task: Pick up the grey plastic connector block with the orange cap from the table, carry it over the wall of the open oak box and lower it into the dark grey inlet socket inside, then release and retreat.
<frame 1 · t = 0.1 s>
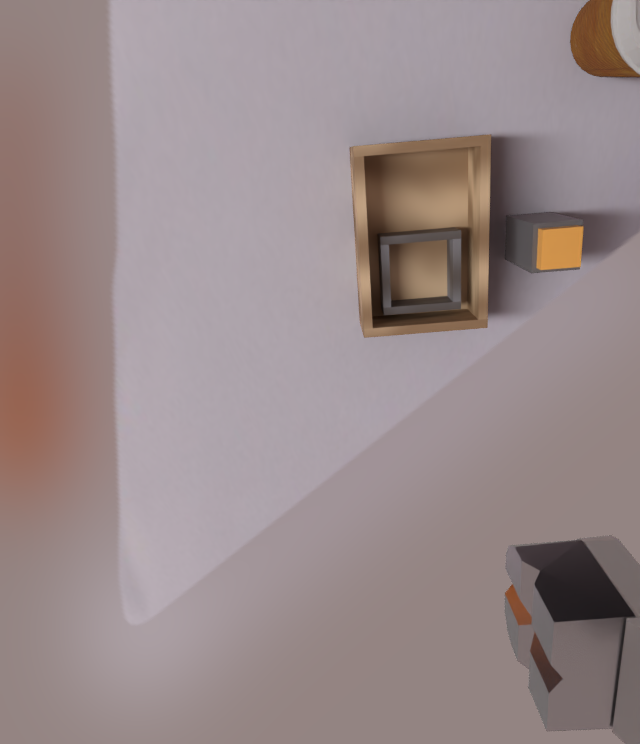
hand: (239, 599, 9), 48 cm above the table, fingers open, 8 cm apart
box: (414, 234, 54), on the table
connector: (527, 235, 54), on the table
disposable coffee cup: (606, 35, 49), on the table
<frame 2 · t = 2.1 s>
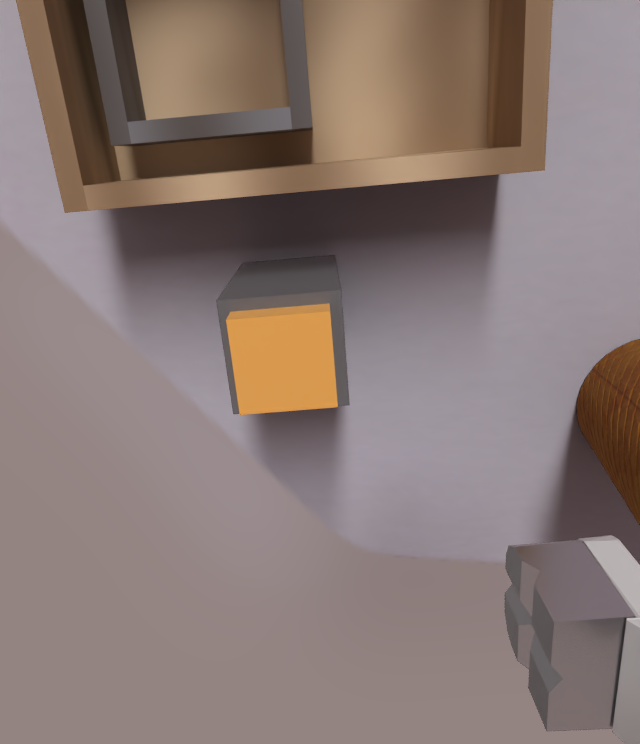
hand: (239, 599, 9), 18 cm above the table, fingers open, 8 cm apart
box: (291, 32, 22), on the table
connector: (293, 304, 26), on the table
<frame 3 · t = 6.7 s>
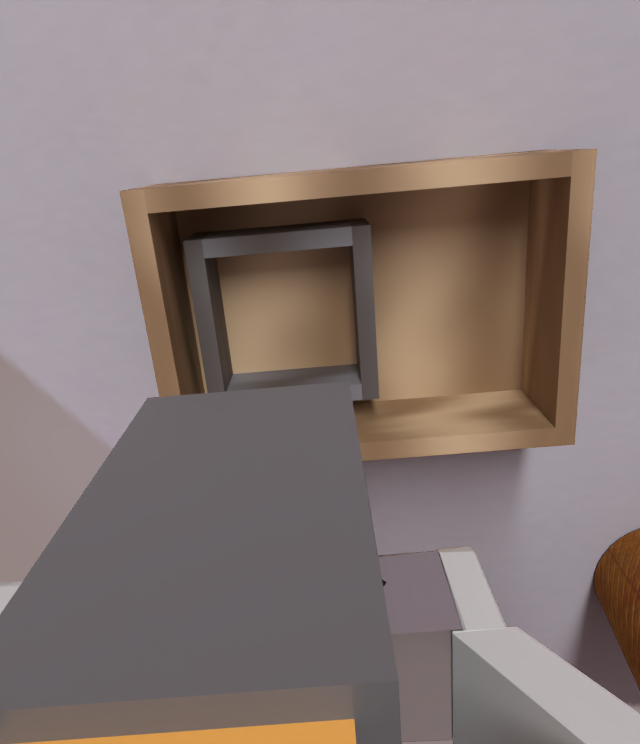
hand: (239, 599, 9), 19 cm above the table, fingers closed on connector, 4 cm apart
box: (356, 297, 26), on the table
connector: (260, 477, 12), point 15 cm above the table, touching gripper
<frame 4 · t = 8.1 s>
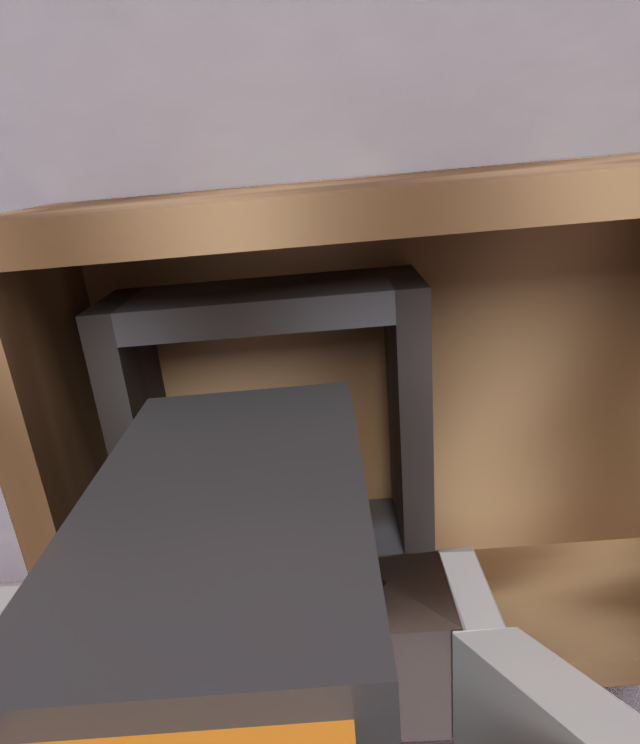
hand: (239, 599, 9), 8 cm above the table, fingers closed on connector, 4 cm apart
box: (391, 388, 16), on the table
connector: (260, 478, 12), point 4 cm above the table, touching gripper
when the fingers open (6 cm above the table, at t = 9.1 s): connector drops 1 cm, resting on box.
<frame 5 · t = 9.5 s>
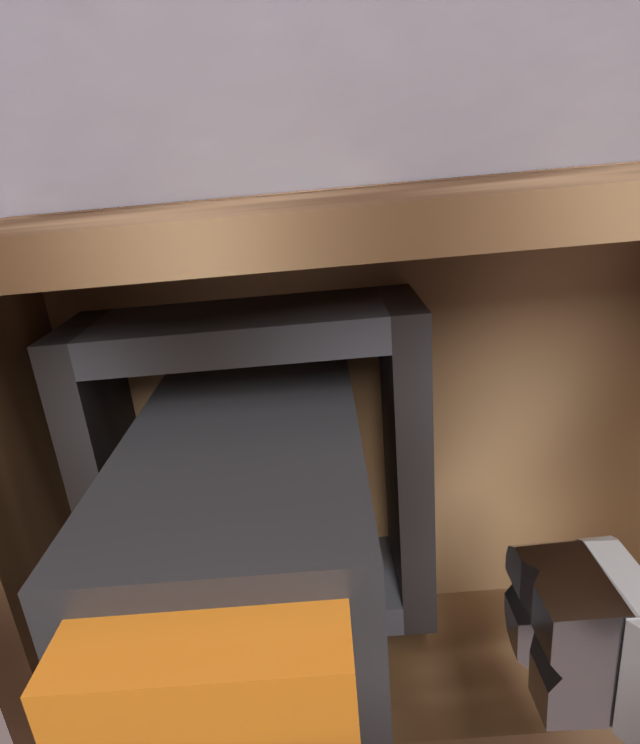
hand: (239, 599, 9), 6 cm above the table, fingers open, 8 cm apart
box: (386, 416, 14), on the table
connector: (266, 445, 14), point 1 cm above the table, touching box
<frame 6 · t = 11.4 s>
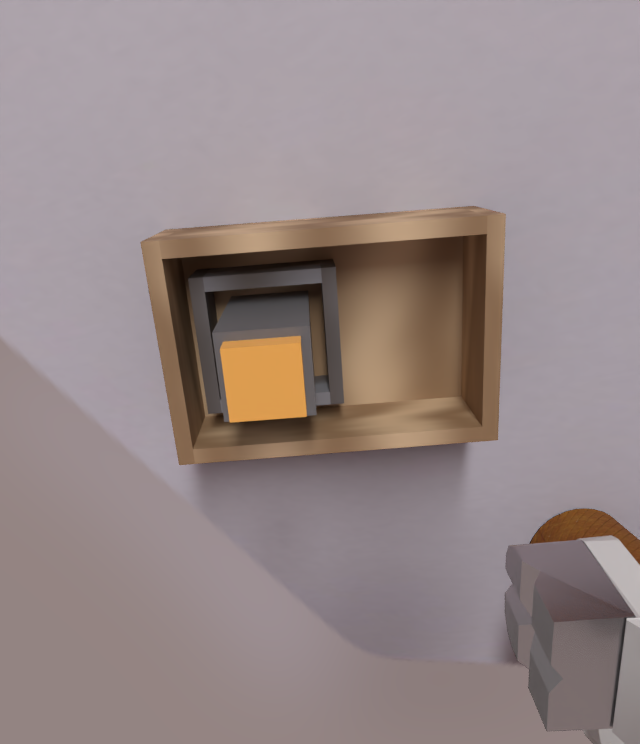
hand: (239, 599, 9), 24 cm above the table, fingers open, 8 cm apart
box: (327, 320, 32), on the table
connector: (273, 330, 31), point 1 cm above the table, touching box
disposable coffee cup: (574, 547, 38), on the table
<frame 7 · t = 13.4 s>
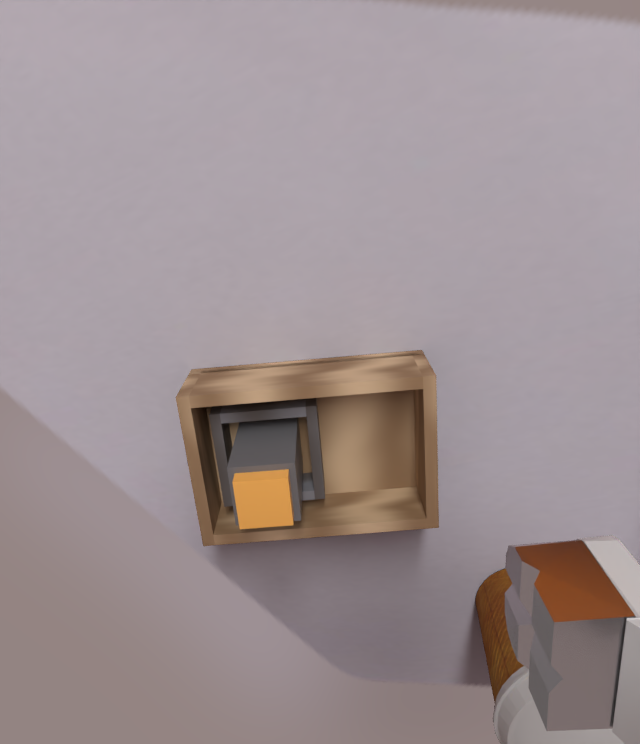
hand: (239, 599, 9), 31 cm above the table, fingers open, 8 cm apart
box: (313, 431, 42), on the table
connector: (272, 441, 41), point 1 cm above the table, touching box
disposable coffee cup: (512, 595, 48), on the table
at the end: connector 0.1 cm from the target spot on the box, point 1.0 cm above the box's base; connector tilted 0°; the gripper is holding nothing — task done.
